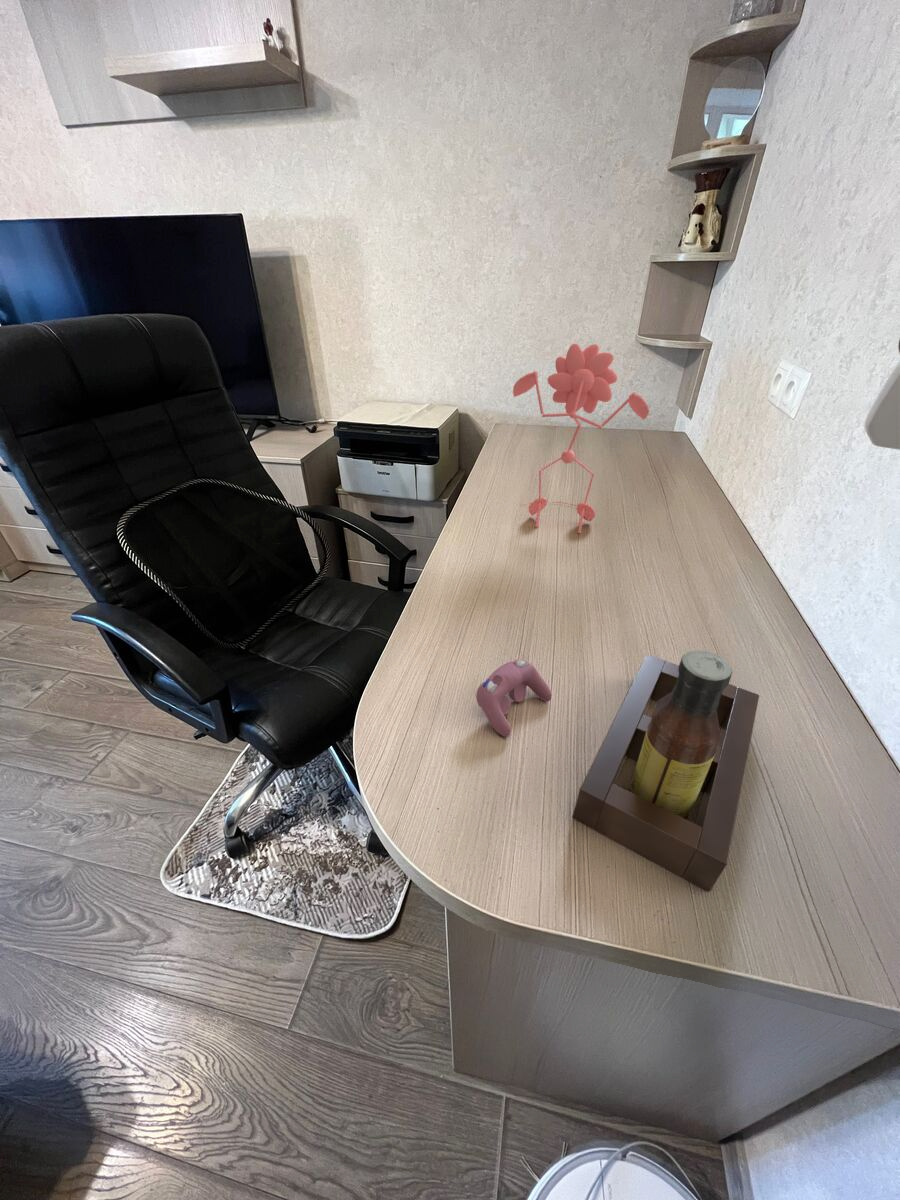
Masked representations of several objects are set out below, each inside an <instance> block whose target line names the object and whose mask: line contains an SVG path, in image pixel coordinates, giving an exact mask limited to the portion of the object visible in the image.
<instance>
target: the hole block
mask: <svg viewBox="0 0 900 1200" xmlns="http://www.w3.org/2000/svg"><path fill="white" fill-rule="evenodd" d="M678 668H679V664H675V663H673V662H671V661H668V660H665V659H662V658H659V657H657V656H654V655H651V654H648V653H646V655H645V657H644V659H643V661H642V663H641V664H640V667H639V669H638V671H637V672H636V674H635V677H634V679H633V681H632V683H631V685H630V687H629V689H628V691H627V693H626V695H625V697H624V699H623V701H622V703H621V705H620V708H619V709H618V711H617V713H616V716H615V717H614V719H613V721H612V724H611V725H610V726H609V729H608V732H607V733H606V735H605V737H604V739H603V741H602V744H601V746H600V748H599V749H598V751H597V753H596V755H595V757H594V759H593V761H592V763H591V765H590V767H589V769H588V771H587V774H586V775H585V777H584V780H583V781H582V784H581V786H580V787H579V791H578V795H577V798H576V802H575V806H574V809H573V813H572V819H574V820H575V821H577V822H579V823H581V824H583V825H585V826H586V827H588V828H591V829H592V830H594V831H596V832H598V833H599V834H601V835H602V836H605V837H606V838H609V839H610V840H612V841H614V842H616V843H617V844H619V845H621V846H623V847H625V848H627V849H629V850H630V851H633V853H636V854H637V855H639V856H642V857H643V858H645V859H647V860H649V861H650V862H653V863H654V864H656V865H658V866H660V867H661V868H664V869H665V870H668V871H669V872H671V873H673V874H675V875H676V876H678V877H681V878H682V879H685V880H686V881H688V882H690V883H692V884H694V885H695V886H696V887H697V886H698V887H699V888H701V889H702V890H705V891H707V892H708V893H709V892H711V890H712V889H713V887H714V885H715V884H716V882H717V880H718V879H719V877H720V876H721V874H722V873H723V871H724V870H725V868H726V867H727V865H728V860H729V855H730V851H731V845H732V839H733V835H734V830H735V825H736V820H737V819H736V818H737V814H738V810H739V809H738V808H739V803H740V798H741V793H742V788H743V782H744V778H745V777H744V776H745V771H746V766H747V761H748V757H749V751H750V747H751V740H752V736H753V730H754V727H755V725H754V724H755V721H756V715H757V709H758V704H759V699H760V694H758V693H755V692H752V691H750V690H747V689H744V688H741V687H739V686H736V685H733V684H731V683H729V684H728V686H727V687H726V688H725V689H724V690H723V692H722V694H721V696H720V700H719V705H718V708H717V709H716V710H717V716H718V723H719V729H720V733H721V737H720V739H719V741H718V744H717V750H716V753H715V756H714V758H713V761H712V763H711V765H710V768H709V770H708V773H707V775H706V777H705V780H704V782H703V785H702V787H701V790H700V791H702V792H703V793H702V795H701V796H702V797H701V800H700V804H699V808H698V812H697V815H696V820H695V823H694V822H692V821H690V820H688V819H687V818H686V819H684V818H682V817H680V816H678V815H676V814H674V813H672V812H670V811H668V810H666V809H664V808H662V807H660V806H658V805H656V804H654V803H651V802H649V801H647V800H645V799H643V798H641V797H639V796H637V795H635V794H633V793H631V791H630V790H627V789H625V788H624V787H621V786H619V785H617V784H616V783H617V781H618V778H619V776H620V774H621V771H622V769H623V766H624V765H625V762H626V760H627V757H628V758H630V759H632V760H635V761H636V762H638V758H639V755H640V752H641V748H642V745H643V741H644V738H645V734H646V731H647V727H648V725H649V723H650V721H651V718H652V717H651V716H648V715H647V711H648V709H649V707H650V704H651V702H652V700H653V701H655V702H658V700H659V699H661V698H663V697H664V696H666V695H668V694H669V693H671V692H672V691H673V688H674V686H675V685H676V681H677V679H678V675H679V671H678Z"/></svg>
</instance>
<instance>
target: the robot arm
mask: <svg viewBox="0 0 900 1200" xmlns="http://www.w3.org/2000/svg"><path fill="white" fill-rule="evenodd" d="M897 348H898V349H897V350H898V354H899V355H900V338H899V339H898V345H897ZM864 430H865V433H866V435H867V438H868V439H869V440H870V443H871V444H872V445H874V446H875V447H879V448H885V449H891V450H898V451H900V360H899V361H898V362H897V364H896V365H895V367H894V368H893V370H892V372H891V373H890V375H889V376H888V377H887V379H886V381H885V383H884V384H883V386H882V388H881V389H880V391H879V393H878V394H877V396H876V398H875V400H874V402H873V403H872V405H871V407H870V409H869V411H868V413H867V415H866V417H865V421H864Z"/></svg>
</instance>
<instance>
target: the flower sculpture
mask: <svg viewBox="0 0 900 1200" xmlns="http://www.w3.org/2000/svg"><path fill="white" fill-rule="evenodd" d="M599 349H600V348H599V345H598V344H597V343H594V344H590V345H589V346H587V347H585V349H584V350H582V349H581V347H580V345H579V344H578V343H571V345H569V348H568V350H567V352H566V356H565V357H563V356H558V357H557V358H556V360H555V371H556V372H557V373H552V374H551V375H549V376H548V378H547V383H548V385H549V386H550V387H551V388H552V389H554V392H553V394H552V401H553V402H554V403H555V404H556V403H558V404H565V405H564V409H565V413H564V412H563V413H544V407H543V403H542V396H541V392H540V386H539V380H538V379H539V375H538V372H537V371H536V370H534V371H533V372H529V373H525V375H523V376H521V377H520V378H519V379H518V380H517V381H516V382H515V384H514V385H513V387H512V394H513V398H515V397H518V396H521V395H523V394H525V393H527V392H528V391H530V390H531V389H532V388H534V386H535V388H536V389H535V390H536V394H537V400H538V406H539V411H540V415H542V416H541V418H554V417H555V418H557V417H570V418H571V419H573V420H574V421H575V423H576V424H577V427H576V429H575V431H574V434H573V436H572V439H571V442H570V443H569V447H568V449H566V450H564V451H563V452H562V453H561V456H560V457H559V458H557V459H556V460H554V461H552V462H550V463H549V464H547V465H545V466H544V467H542V468H540V469H539V471H538V498H536V499H535V500H533V501H531V502H529V503H525V504H520V505H519V506H520V507H522V506H525V505H526V506H527V505H529V506H528V513H529V514H530V516H532V517H533V516H535V515H536V519H535V524H534V527H535V528H538V527H539V522H540V515H541V511H543V509H544V508H545V507H546V506H547V505H548V504H547V503H548V501H547V498H546V497H544V496H543V497H542V471H543V470H545V469H547V468H549V467H550V466H552V465H554V464H556V463H557V462H559V461H562V462H563V463H564V464H572V463H573V462H576V463H577V464H578V465H579V466H580V467H582V468H583V469H585V471H587V472H588V473H589V474H591V477H590V481H589V484H588V489H587V492H586V495H585V498H584V502H579V503H577V505H576V504H572V503H569V505H570V506H575V507H576V513H577V514H578V515H579V517H580V518H579V523H578V530H577V534H581V532H582V526H583V520H585V521H587V522H588V523H590V522H591V521H592V520H594V518H595V517H596V511H595V509H594V508H593V507H592V506H591V504H589V503H587V500H588V499H589V498H588V497H589V494H590V491H591V486H592V482H593V480H594V476H595V475H594V472H593V471H591V470H590V468H588V467H586V466H585V465H584V464H583V463H581V462H580V461H579V460H578V459H577V458H575V457H576V455H575V452H574V451H573V450H571V449H572V447H573V444H574V443H575V440H576V439H577V436H578V433H579V431H580V429H581V426H582V423H581V422H580V421H582V422H584V423H587V424H588V425H591V426H593V427H596V428H598V429H600V430H601V429H602V428H604V427H605V426H606V425H607V424H608V423H609V421H611V420H612V419H613V418H615V416H616V415H617V414H618V413H619V412H620V411H621V410H622V409H623V408H624V407H626V405H627V404H628V405H629V407H630V409H631V410H632V411H633V412H634V413H635V414H636V415H637V416H638V417H639V418H640V419H641V420H643V421H644V420H646V419H647V417H648V415H649V414H650V407H649V405H648V403H647V401H645V399H644V398H643V397H642V396H641V395H639V394H637V392H635V391H633V392H632V393H630V394H629V396H628V398H627V399H626V400H625V401H624V402H623V403H622V404H621V405H620V406H619V407H618V408H617V409H616V410H615V411H614V412H613V413H611V414H610V415H609V416H608V418H607V419H606V420H604V421H603V422H602V423H601V424H599V423H596V422H594V421H592V420H590V419H588V418H585V417H583V416H580V415H578V414H577V412H578V411H580V410H581V409H583V411H584V412H585V413H587V414H593V413H594V412H595V410H596V408H597V406H598V403H599V402H603V403H608V402H610V401H611V399H612V395H613V394H612V389H611V386H610V385H613V384H614V383H616V382H617V381H618V376H617V374H616V372H614V370H613V369H611V368H609V367H610V366H611V365H612V363H613V361H614V355H613V354H612V353H611V352H605V351H603V352H599ZM553 503H554V504H561V501H559V500H558V501H553ZM563 504H564V505H568V503H567V502H563ZM609 536H610V535H608V536H607V538H609Z"/></svg>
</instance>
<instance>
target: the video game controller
mask: <svg viewBox="0 0 900 1200" xmlns="http://www.w3.org/2000/svg"><path fill="white" fill-rule="evenodd" d="M527 688H529V689H530V690H531V691H532V692H533V693H534V695H536V696H537V697H538V698H539V699H540V700H542V701H544V702H550V701H551V700H552V692H551V689H550V687H549V685H548V684H547V683H546V681H545V680H544V678H543V677H542V676H541V675H540V673H539V671H538V670H537V669H536V667H535V665H533V664H532V663H530V662H529V661H525V660H522V659H515V660H511V661H508V662H506V663H504V664H502V665H500V666H499V667H498V668H497V669H495V670H494V671H493V672H492V673H491V674H490V675H489V676H488V677H487V679H486V680H485V681H483V682H481V683H480V685H479V686H478V688H477V690H476V695H475V698H476V702H477V703H476V704H477V705H478V706H479V707H480V708H481V709H482V711H483V713H484V714H485V717H486V718H487V721H488V722H489V723H490V725H491V726H492V728H493V729H494V730H495V731H496V732H497V733H498V734H499V735H501V736H503V737H504V738H506V737H509V736H510V735H511V733H512V732H511V731H512V730H511V726H510V722H509V721H508V720H507V718H506V716H505V715H506V714H508V712H509V711H510V709H511V701H514V702H518V703H520V702H522V701H524V700H525V698H526V693H527ZM506 695H508V696H506Z"/></svg>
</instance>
